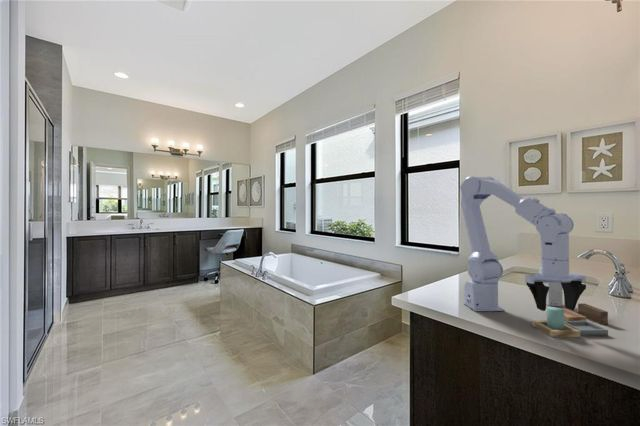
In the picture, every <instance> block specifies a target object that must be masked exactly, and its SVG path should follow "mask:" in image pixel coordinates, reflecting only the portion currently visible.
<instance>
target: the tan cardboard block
mask: <svg viewBox="0 0 640 426" xmlns="http://www.w3.org/2000/svg"><path fill="white" fill-rule="evenodd" d="M559 308H560V307H559ZM560 309H563V310H564V321H587V318H586V317H585V316H582V315H580V314H578V312H575V311H574V310H570V309H567V308H565V307H562V308H560Z"/></svg>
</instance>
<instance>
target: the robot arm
mask: <svg viewBox="0 0 640 426" xmlns="http://www.w3.org/2000/svg"><path fill="white" fill-rule="evenodd" d="M459 188H460V191H461V200H460V204H461V205H460V207H461V209H462V215H463V218H464V223H465V227H466V230H467V236H468V241H469V244H470V248H471V255H469V256H468V258H467V263H468V265H467V273H468V275H469V277H470V278H471V280H468V281H466V282H465V283H464V301H463V304H464V305H466V306H467V307H469V308H470V309H472V311H474V312H505V308H503V307H501V306H499V281H500V278H501V277H502V276H503V273H504V268H503V265H502V264H501V263H500V261H499V260H498V256H497V255H496V253H494V252H493V251H491V247H490V244H489V239H488V238H489V237H488V235H487V231H486V227H485V223H484V217H483V215H482V210H481V207H480V206H481V205H482V204H483V202H485V201H486V199H488V198H489V197H491V196H492V195H493V196H495V197H496V198H498V199H500V200H501V201H503V202H505V203H506V204H509V205H510V206H512V207H514V208H515V209H514V210H515V214H517V215H518V216H519V217H521V218H523V219H524V220H526V221H527V222H528V223H530V224H532V225H533V226H534V227H535V229H536V231H537V233H539V235H540V241H541V242H540V247H541V249H540V250H541V253H540V254H541V255H540V257H541V258H540V259H541V266H540V267H541V270H542V273H539V272H538V273H533V274H525V275H524V277H525V279H524V280H525V281H524V282H526V284H525V285H526V286H527V287H528V289H529V290H530V292H531V294H532V296H533V298H534V303H535V305H536V309H538V310H540V311H542V312H545V311H547V304H546V298H547V293H548V290H549V287H547V286H544V284H543V283H560V282H561V285H562V293H563V297H564V298H563V299H564V300H563V302H564V303H563V304H564V308H566V309H568V310H570V311H575V309H576V308H577V307H576V306H577V305H578V304H577V303H578V301H579V299H580V297H581V295H582V294H583V293H584V291H585V290H586V289H587V284H585V283H587V280H586V279H587V276H586V275H584V274H581V273H570V233H571V232H573V229H574V221H573V219H572V218H571V217H570V216H569V215H568V214H566V213H557V212H556V209H554V208H549V207H547V206H545V205H544V204H542V203H541V200H540V199H538V198H537V197H536V198H533V197H525V198H523V197H522V196H521V195H519V194H518V193H516V192H515V191H513V190H512V189H510V188H509V187H507V186H506V185H505V184H503V183H501V181H500V180H498V179H495V178H494V177H492V176H474V175H469V176H467V177H466V178H465V179H464V180H463V181H462V183H461V184H460V187H459Z"/></svg>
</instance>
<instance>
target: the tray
mask: <svg viewBox="0 0 640 426" xmlns="http://www.w3.org/2000/svg"><path fill="white" fill-rule="evenodd" d="M564 324H566V325H568V326H571V327H573V328H575V329H577V330H579V331H580V337H608V336H609V330H608V329H607V328H605V327H602V326H600V325H598V324H596V323H595V324H594V323H593V322H590V321H589V320H586V321H564Z"/></svg>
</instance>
